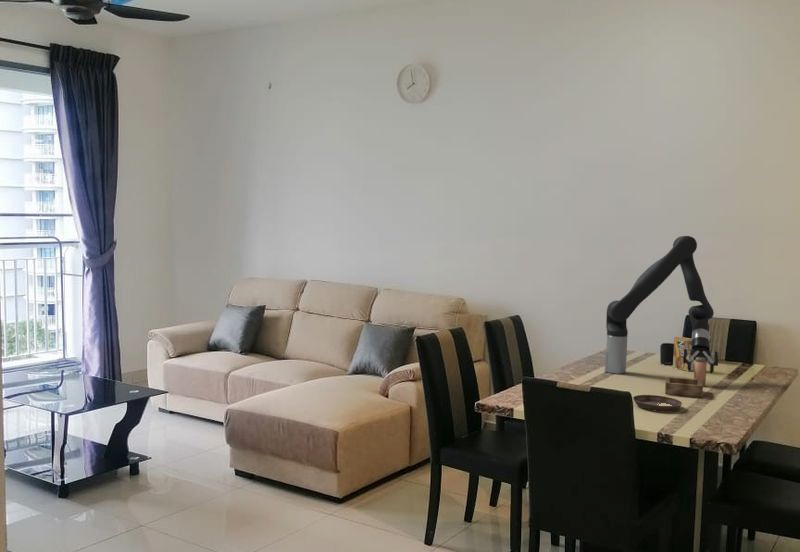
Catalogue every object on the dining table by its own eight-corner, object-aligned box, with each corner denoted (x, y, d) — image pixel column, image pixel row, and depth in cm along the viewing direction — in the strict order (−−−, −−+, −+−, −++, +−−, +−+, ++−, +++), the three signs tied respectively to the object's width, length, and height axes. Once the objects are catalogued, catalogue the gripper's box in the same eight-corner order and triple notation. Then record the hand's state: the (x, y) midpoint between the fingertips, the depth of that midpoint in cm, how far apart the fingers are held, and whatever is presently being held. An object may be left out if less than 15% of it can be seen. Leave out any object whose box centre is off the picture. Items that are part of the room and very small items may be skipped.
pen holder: (655, 363, 379) (656, 343, 378) (669, 362, 383) (670, 342, 382) (669, 366, 370) (670, 346, 370) (683, 365, 374) (684, 345, 374)
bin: (665, 394, 308) (665, 383, 308) (665, 387, 322) (665, 376, 321) (702, 398, 304) (702, 386, 304) (700, 390, 317) (701, 379, 317)
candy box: (693, 370, 362) (695, 338, 361) (688, 371, 359) (689, 339, 358) (677, 367, 369) (679, 336, 368) (672, 368, 367) (673, 336, 366)
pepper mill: (693, 385, 327) (695, 358, 326) (693, 383, 331) (694, 356, 331) (705, 387, 325) (707, 359, 324) (705, 384, 330) (706, 357, 329)
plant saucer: (678, 404, 293) (678, 396, 293) (684, 415, 276) (685, 407, 276) (630, 400, 297) (631, 393, 297) (634, 411, 280) (634, 403, 280)
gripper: (684, 335, 336) (683, 365, 326) (718, 337, 332) (719, 367, 322) (683, 345, 342) (682, 374, 332) (717, 347, 337) (717, 377, 327)
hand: (700, 371), depth 327 cm, fingers open, 8 cm apart
